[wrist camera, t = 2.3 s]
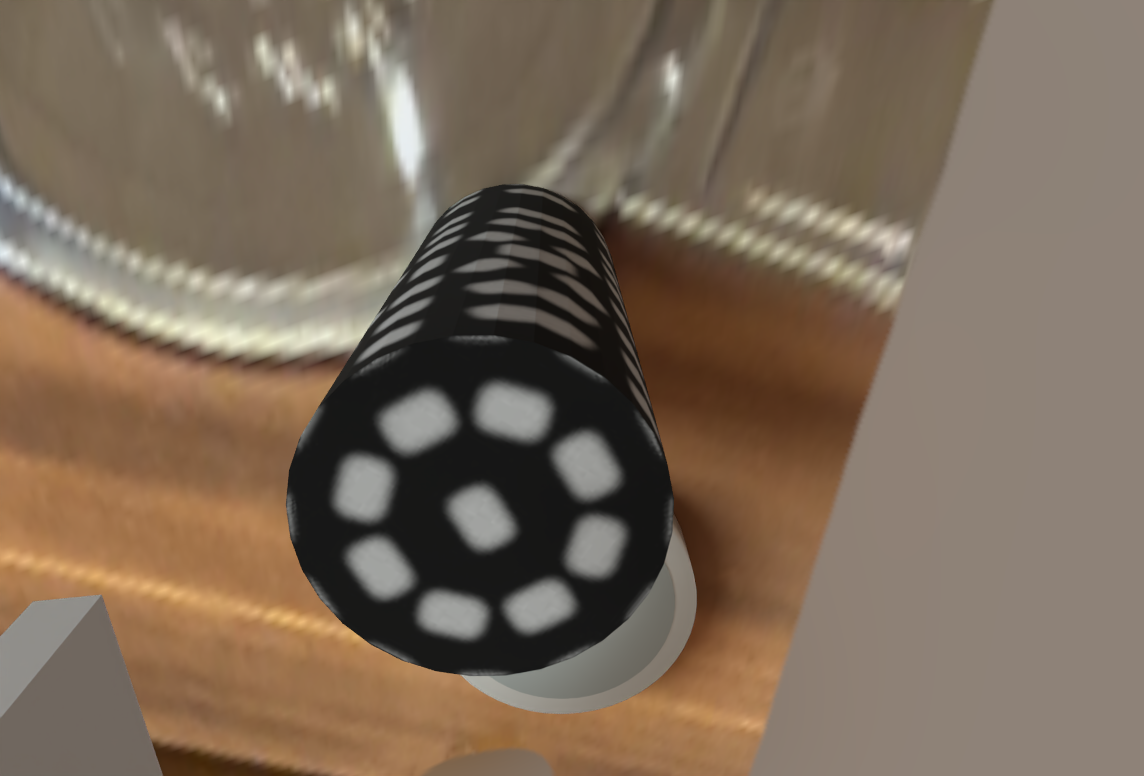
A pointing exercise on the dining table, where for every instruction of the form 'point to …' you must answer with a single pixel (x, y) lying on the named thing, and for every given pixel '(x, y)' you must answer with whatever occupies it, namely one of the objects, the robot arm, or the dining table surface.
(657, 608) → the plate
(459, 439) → the spotted tube
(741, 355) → the dining table surface
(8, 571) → the dining table surface
